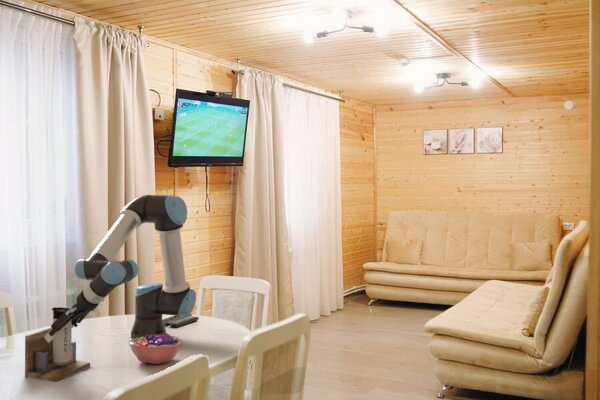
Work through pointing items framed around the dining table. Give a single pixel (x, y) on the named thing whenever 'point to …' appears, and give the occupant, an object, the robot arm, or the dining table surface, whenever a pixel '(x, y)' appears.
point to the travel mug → (62, 340)
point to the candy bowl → (155, 348)
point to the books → (73, 351)
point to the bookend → (39, 362)
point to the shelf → (54, 371)
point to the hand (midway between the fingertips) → (53, 337)
